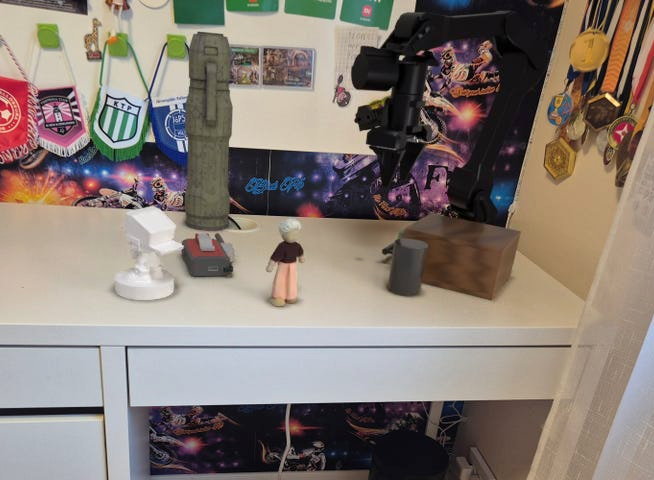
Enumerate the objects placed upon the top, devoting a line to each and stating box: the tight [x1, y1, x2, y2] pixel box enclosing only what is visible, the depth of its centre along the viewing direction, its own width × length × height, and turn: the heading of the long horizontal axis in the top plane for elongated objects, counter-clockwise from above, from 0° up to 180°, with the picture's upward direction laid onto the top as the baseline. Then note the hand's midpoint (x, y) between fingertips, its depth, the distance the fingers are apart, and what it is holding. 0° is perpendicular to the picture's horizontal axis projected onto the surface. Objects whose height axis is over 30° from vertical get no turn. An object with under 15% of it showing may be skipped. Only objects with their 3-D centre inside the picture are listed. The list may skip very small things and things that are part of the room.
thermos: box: [184, 31, 234, 231], centre depth 123 cm, size 9×12×35 cm
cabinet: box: [404, 212, 522, 301], centre depth 112 cm, size 17×15×9 cm
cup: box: [387, 238, 428, 297], centre depth 104 cm, size 5×5×8 cm
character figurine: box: [114, 205, 184, 301], centre depth 93 cm, size 9×10×12 cm
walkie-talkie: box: [180, 232, 235, 277], centre depth 110 cm, size 9×4×20 cm
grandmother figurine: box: [265, 217, 306, 307], centre depth 94 cm, size 8×4×13 cm, turn 148°
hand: (393, 183), depth 119 cm, fingers open, 9 cm apart
